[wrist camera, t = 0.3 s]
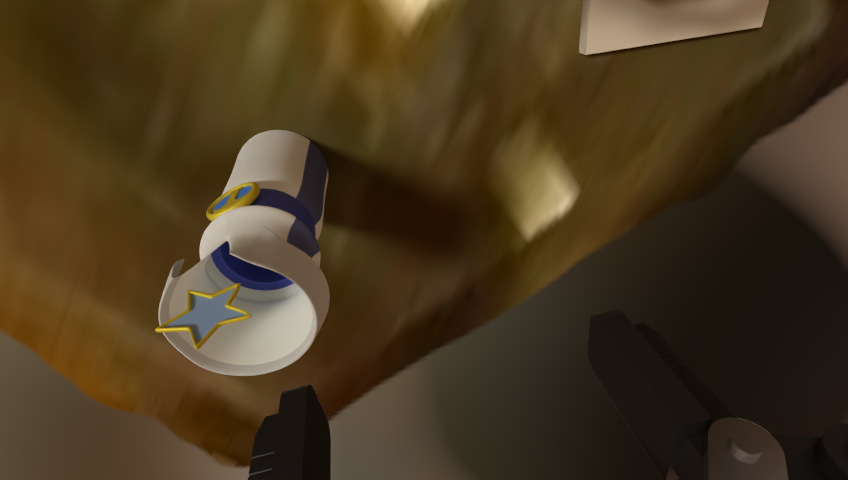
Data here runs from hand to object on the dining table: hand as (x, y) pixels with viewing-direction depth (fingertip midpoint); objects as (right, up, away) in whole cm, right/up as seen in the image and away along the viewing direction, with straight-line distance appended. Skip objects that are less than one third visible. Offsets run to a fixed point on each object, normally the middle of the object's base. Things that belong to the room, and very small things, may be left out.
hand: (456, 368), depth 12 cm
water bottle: (-13, +10, +26) cm, 31 cm away
